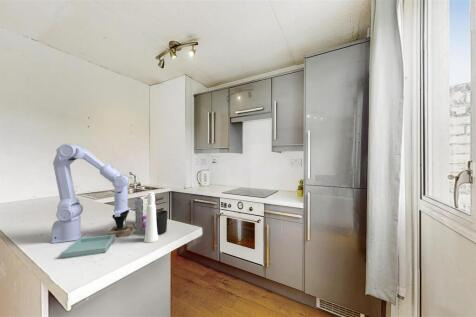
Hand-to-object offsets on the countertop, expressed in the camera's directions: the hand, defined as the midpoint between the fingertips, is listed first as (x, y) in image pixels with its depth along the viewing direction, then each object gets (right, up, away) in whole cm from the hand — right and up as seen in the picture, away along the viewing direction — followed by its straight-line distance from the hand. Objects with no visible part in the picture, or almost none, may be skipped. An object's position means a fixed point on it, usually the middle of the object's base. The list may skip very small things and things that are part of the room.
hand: (121, 227), depth 95 cm
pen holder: (+17, -3, +2) cm, 18 cm away
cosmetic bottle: (+18, -3, -7) cm, 20 cm away
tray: (-3, -3, -15) cm, 16 cm away
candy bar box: (+7, -3, +12) cm, 14 cm away
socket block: (0, -3, 0) cm, 3 cm away
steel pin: (0, -3, 0) cm, 3 cm away
